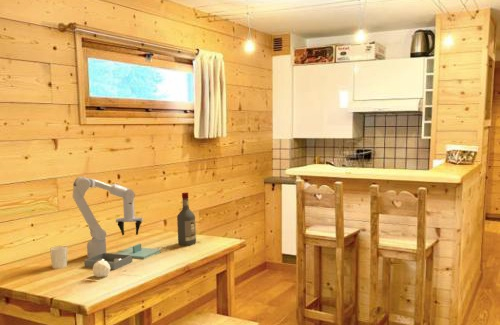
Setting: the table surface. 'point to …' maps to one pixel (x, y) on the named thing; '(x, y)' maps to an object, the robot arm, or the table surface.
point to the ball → (101, 268)
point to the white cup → (59, 256)
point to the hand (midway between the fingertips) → (130, 234)
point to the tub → (109, 260)
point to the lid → (139, 252)
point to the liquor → (186, 224)
